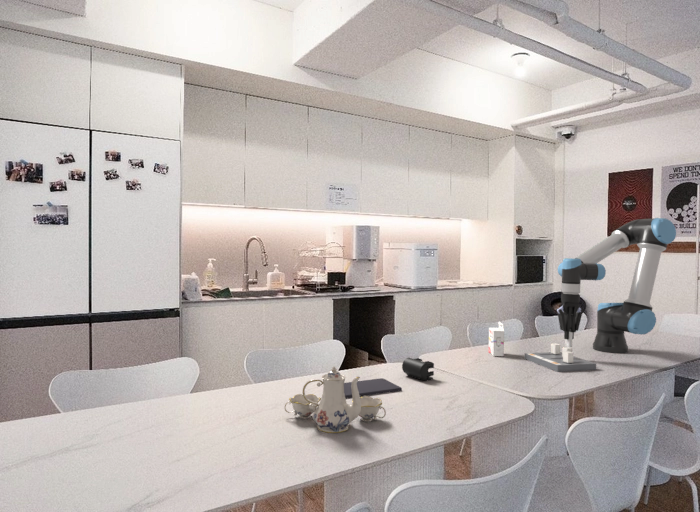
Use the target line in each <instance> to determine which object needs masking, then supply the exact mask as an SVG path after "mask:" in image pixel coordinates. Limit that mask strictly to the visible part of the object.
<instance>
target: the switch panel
mask: <svg viewBox="0 0 700 512" xmlns="http://www.w3.org/2000/svg"><path fill="white" fill-rule="evenodd" d="M523 355H524V357H523V359H524V358H525V359H524V360H526V359H527V360H526V361H528V360H529V361H528V362H531V361H532V362H531V363H533V362H534V363H533V364H536V363H537V364H536V365H540V366H541V365H542V366H541V367H544V368H546V367H547V369H549V370H552V371H555V372H557V373H560V372H561V373H563V372H564V373H565V372H581V371H583V372H584V371H596V370H597V363H595V362H592V361H589V360H586V359H583V358H580V357H578V356H575V355H574V356H573V363H567V362H564V361H563V357H562V351H560V354H553V353H551V351H550V352H548V351H546V352H525V353H524V354H523Z"/></svg>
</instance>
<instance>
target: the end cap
mask: <svg viewBox="0 0 700 512" xmlns="http://www.w3.org/2000/svg"><path fill="white" fill-rule="evenodd" d="M434 368H435V363H434V362H432V361H430V360H427V361H423V359H422V358H419V357H417V358H416V357H415V358H411V357H406V358H405V359H404V360H403V361H402V365H401V369H402V372H403V373H404V374H405V375H407V376H409V377H410V378H411V377H412V378H415V379H418V380H421V381H424V382H428V381H432V380H431V379H433V380H434V377H433V376H434V375H435V373H434V372H435V371H434V370H432V371H429V370H430V369H434ZM427 380H428V381H427Z"/></svg>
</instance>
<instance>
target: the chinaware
mask: <svg viewBox="0 0 700 512" xmlns="http://www.w3.org/2000/svg"><path fill="white" fill-rule="evenodd" d="M346 378H347V377H346V375H344V374H341V373H340V371H338V370H337V368H336V366H332V368H331V369H330V370H329V371H328V372H327V373H326V374H324V375H322V376H321V379H318V378H317V379H316V378H315V379H314V378H313V379H310V380H308V381H306V382H305V384H304V385H303V388H302V390H301V391H302V393H298V394H294V395H293V397H289V398H288V400H289V401H287V402H286V403H285V404H284V411H285V412H286V413H287V414H292V413H294V414H293V416H294V417H295V416H297V415H298V417H299V419H304V420H306V419H311V415H312V419H313V421H314V423H316V428H317V429H318V430H319V431H320V432H323V433H328V434H338V433H343V432H346V431H347V430H349V425H350V424H351V423H352V422H354V421H355V420H356V419H357V418H358V417H359V418H360V419H359V420H361V421H363V422H372V421H373V420H375V421H377V419H378V418H379V419H383V418H385V417H386V413H387V412H386V408H385V407H383V406H382V405H383V402H382V399H381V398H380V397H376V398H375V397H374V398H373V397H371V396H370V395H368V396H360V395H359V392H358V388H357V381H358V380H359V381H360V379H361V377H360V376H355V377H354V378H353V379H352V381H351V382H352V385H351V388H352V398H351V401H352V402H351V403H350V404H349V403H347V398H346V399H345V394H344V383H345V382H346V381H345V380H346ZM315 382H317V383H316V386H317V387H321V386H322V385H323V386H322V387H323V388H322V394H321V397H318V396H317V395H316V394H313V393H308V394H306V391H305V390H306V387H308V385H309V384H311V383H315ZM288 403H289V405H292V408H293V410H292V411H288V410H287V407H286V406H287V404H288ZM380 410H383V411H384V412H383V413H384V415H383V416H379V415H377V414H378V413H379V411H380Z"/></svg>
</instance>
